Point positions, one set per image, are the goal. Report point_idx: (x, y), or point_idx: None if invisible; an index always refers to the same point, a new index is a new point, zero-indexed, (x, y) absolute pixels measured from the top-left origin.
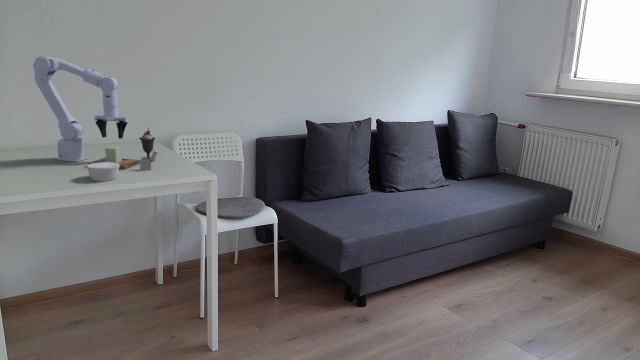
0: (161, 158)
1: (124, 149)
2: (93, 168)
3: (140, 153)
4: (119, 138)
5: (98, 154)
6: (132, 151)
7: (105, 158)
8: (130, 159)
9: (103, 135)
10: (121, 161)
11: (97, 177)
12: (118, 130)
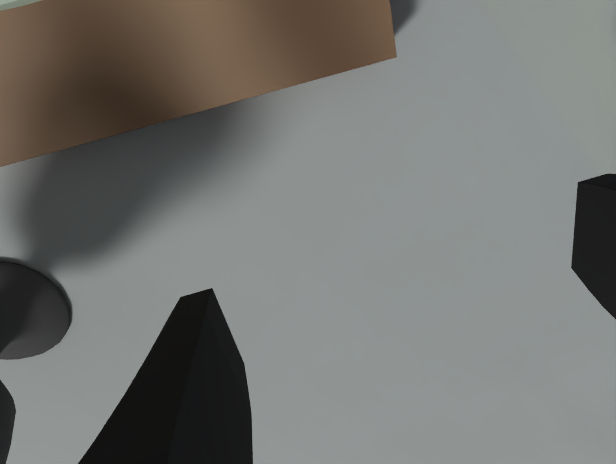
0: None
1: (518, 440)
2: None
3: (323, 433)
4: (198, 295)
5: None
6: (425, 436)
7: (341, 4)
8: (26, 145)
9: (614, 200)
10: None
11: None
12: (148, 449)
